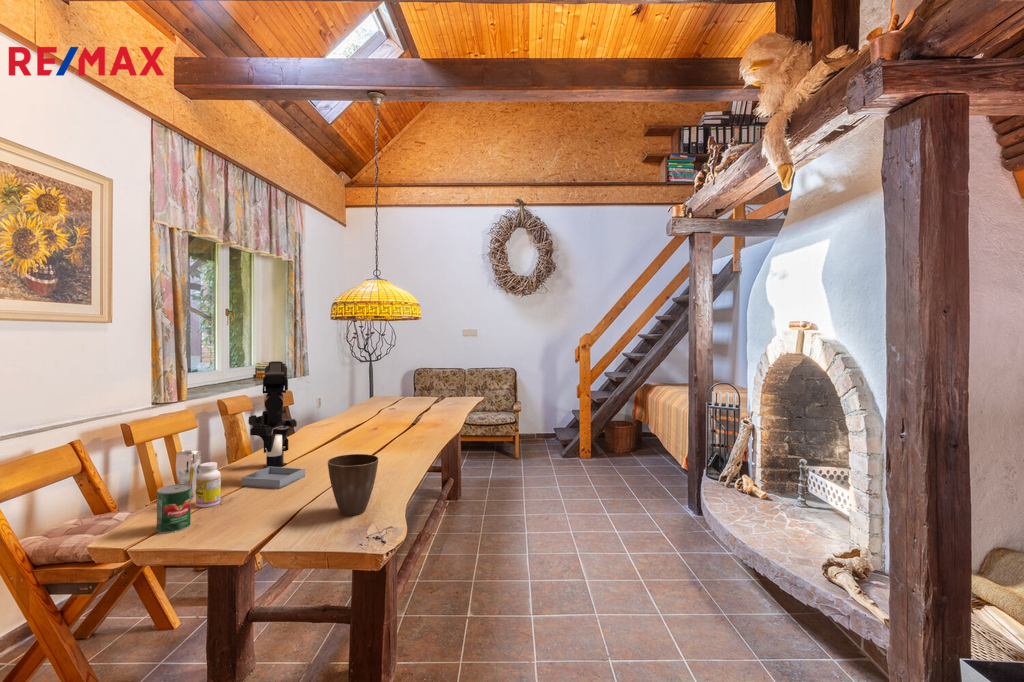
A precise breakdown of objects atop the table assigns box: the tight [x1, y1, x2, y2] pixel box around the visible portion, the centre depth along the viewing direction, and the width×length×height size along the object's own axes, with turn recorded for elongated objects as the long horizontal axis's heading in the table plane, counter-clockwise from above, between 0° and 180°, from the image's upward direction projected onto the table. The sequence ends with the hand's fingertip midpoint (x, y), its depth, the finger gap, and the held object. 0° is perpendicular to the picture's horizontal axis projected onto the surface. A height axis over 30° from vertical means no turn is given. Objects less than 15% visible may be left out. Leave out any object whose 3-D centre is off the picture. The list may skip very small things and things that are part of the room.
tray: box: [241, 466, 306, 490], centre depth 181 cm, size 15×15×3 cm
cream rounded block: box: [265, 434, 282, 457], centre depth 181 cm, size 5×5×7 cm
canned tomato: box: [156, 483, 192, 534], centre depth 138 cm, size 8×8×11 cm
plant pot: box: [327, 453, 379, 516], centre depth 152 cm, size 15×15×16 cm
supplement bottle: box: [195, 461, 222, 508], centre depth 156 cm, size 7×7×13 cm
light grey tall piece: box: [175, 449, 202, 500], centre depth 162 cm, size 7×7×15 cm
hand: (274, 450), depth 181 cm, fingers closed on cream rounded block, 5 cm apart
